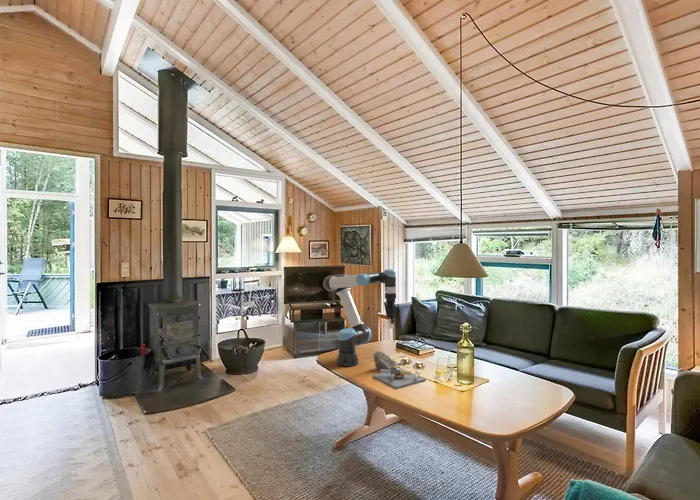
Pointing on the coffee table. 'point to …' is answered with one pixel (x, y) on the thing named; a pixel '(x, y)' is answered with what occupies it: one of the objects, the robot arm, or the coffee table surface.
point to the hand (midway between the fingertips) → (391, 328)
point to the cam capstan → (396, 372)
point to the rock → (383, 361)
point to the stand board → (402, 381)
